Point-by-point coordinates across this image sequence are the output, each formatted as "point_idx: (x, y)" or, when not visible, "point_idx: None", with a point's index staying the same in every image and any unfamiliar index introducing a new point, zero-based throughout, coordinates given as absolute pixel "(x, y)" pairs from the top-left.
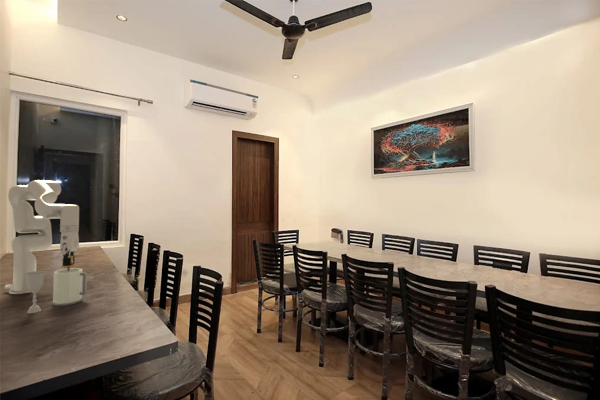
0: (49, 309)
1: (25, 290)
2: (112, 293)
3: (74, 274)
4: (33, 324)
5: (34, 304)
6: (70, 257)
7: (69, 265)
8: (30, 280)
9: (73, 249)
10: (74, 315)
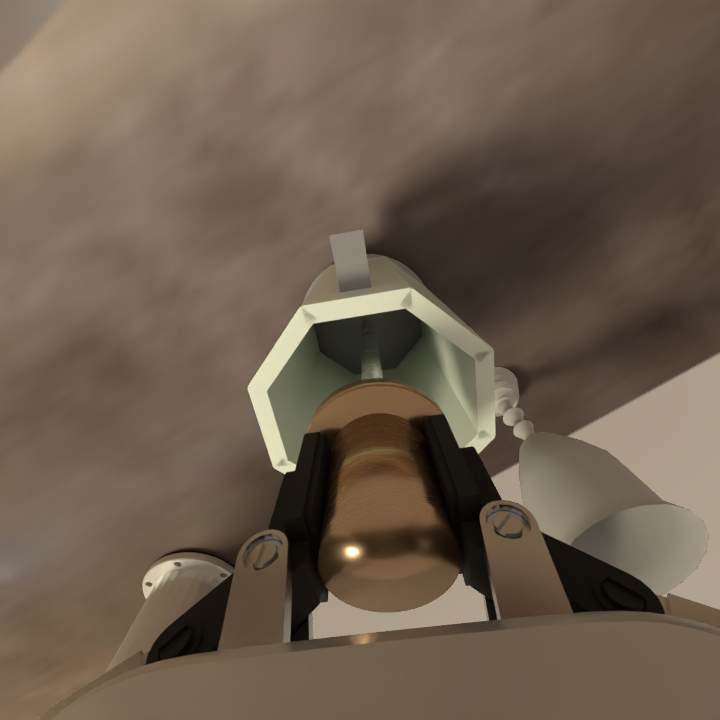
0: None
1: (218, 579)
2: (184, 120)
3: (442, 309)
4: (694, 280)
5: (510, 404)
6: (433, 509)
7: (442, 418)
8: (643, 512)
9: (592, 682)
10: (626, 136)
